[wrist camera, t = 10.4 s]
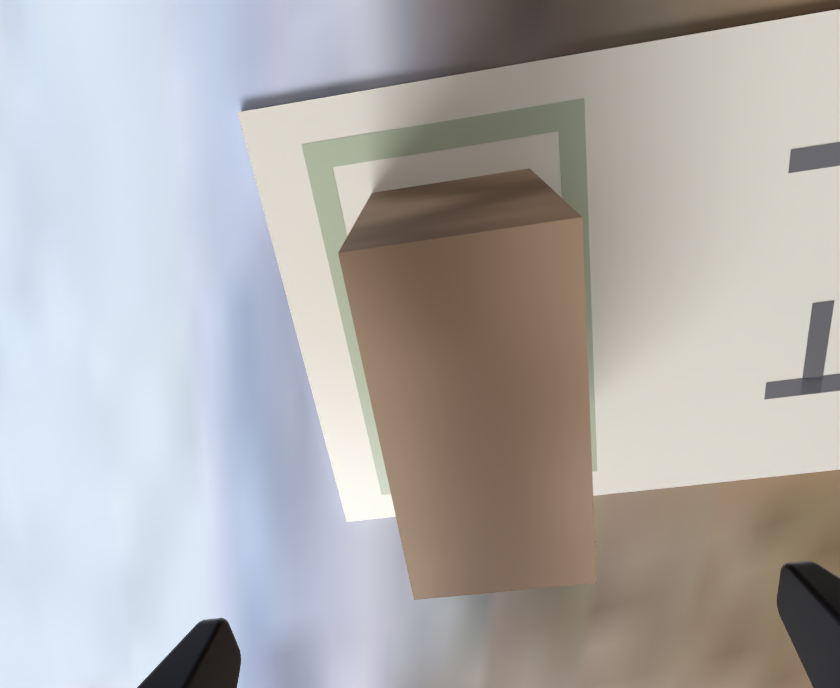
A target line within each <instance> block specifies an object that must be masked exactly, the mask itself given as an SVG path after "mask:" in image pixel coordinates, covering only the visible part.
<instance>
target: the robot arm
mask: <svg viewBox="0 0 840 688" xmlns="http://www.w3.org/2000/svg"><path fill="white" fill-rule="evenodd" d="M777 607H778V611H779V614H780V617H781V619H782V621H783V623H784V626H785V628H786V630H787V632H788V634H789V636H790V638H791V641H792V643H793V645H794V647H795V649H796V651H797V653H798V656H799V658H800V660H801V662H802V664H803V666H804V668H805V671H806V673H807V675H808V677H809V679H810V681H811V684H812V686H813V688H840V578H839V577H837V576H836V575H834V574H833V573H831V572H829V571H828V570H826V569H825V568H823V567H822V566H820V565H818V564H817V563H814V562H811V561H801V562H791V563H786V564H784V565H783V566H782V568H781V573H780V580H779V587H778V594H777ZM240 665H241V654H240V650H239V647H238V645H237V642H236V640H235V637H234V635H233V633H232V630H231V628H230V625H229V623H228V621H227V620H225V619H224V618H218V619H207V620H203V621H201V622H199V623H198V624H197V625H196V626H195V627H194V628H193V629H192V630H191V631H190V632H189V633H188V634H187V635H186V636H185V637H184V638H183V639H182V641H181V642H180V643H179V644H178V645H177V646H176V647H175V648H174V649H173V650H172V651H171V652H170V653H169V654H168V655H167V656H166V658H165V659H164V660H163V661H162V662H161V663H160V664H159V665H158V666H157V667H156V668H155V669H154V670H153V671H152V672H151V674H150V675H149V676H148V677H147V678H146V679H145V680H144V681H143V682H142V683H141V684H140V685H139V686H138V687H137V688H237V683H238V677H239V671H240Z"/></svg>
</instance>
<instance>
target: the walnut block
mask: <svg viewBox="0 0 840 688" xmlns="http://www.w3.org/2000/svg"><path fill="white" fill-rule="evenodd" d="M338 255H339V260H340V264H341V269H342V273H343V278H344V283H345V287H346V292H347V296H348V301H349V305H350V310H351V314H352V319H353V324H354V328H355V333H356V337H357V342H358V346H359V351H360V355H361V360H362V365H363V369H364V374H365V378H366V383H367V387H368V392H369V396H370V401H371V405H372V410H373V415H374V419H375V424H376V428H377V433H378V437H379V442H380V446H381V451H382V456H383V460H384V465H385V469H386V474H387V478H388V483H389V487H390V492H391V497H392V501H393V506H394V510H395V515H396V519H397V524H398V528H399V533H400V537H401V542H402V547H403V551H404V556H405V560H406V565H407V569H408V574H409V578H410V583H411V588H412V592H413V597H414V600H418V599H428V598H439V597H450V596H461V595H471V594H482V593H493V592H503V591H514V590H525V589H536V588H546V587H557V586H568V585H579V584H589V583H596V556H595V530H594V504H593V478H592V452H591V426H590V399H589V373H588V347H587V321H586V295H585V268H584V242H583V217H582V216H581V215H580V214H579V213H578V212H576V211H575V210H574V209H573V208H572V207H571V206H570V205H569V204H568V203H567V202H566V201H565V200H563V199H562V198H561V197H560V196H559V195H558V194H557V193H556V192H555V191H554V190H553V189H552V188H551V187H549V186H548V185H547V184H546V183H545V182H544V181H543V180H542V179H541V178H540V177H539V176H538V175H536V174H535V173H534V172H533V171H532V170H531V169H530V168H529V169H523V170H516V171H510V172H503V173H497V174H490V175H484V176H478V177H471V178H465V179H458V180H452V181H445V182H439V183H433V184H426V185H420V186H413V187H407V188H400V189H394V190H387V191H381V192H375V193H371V195H370V197H369V199H368V201H367V202H366V204H365V206H364V208H363V209H362V211H361V213H360V215H359V217H358V218H357V220H356V222H355V224H354V225H353V227H352V229H351V231H350V233H349V234H348V236H347V238H346V240H345V241H344V243H343V245H342V247H341V249H340V250H339V252H338Z"/></svg>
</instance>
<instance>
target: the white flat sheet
mask: <svg viewBox="0 0 840 688" xmlns="http://www.w3.org/2000/svg"><path fill="white" fill-rule="evenodd" d="M238 116H239V120H240V124H241V127H242V131H243V135H244V139H245V142H246V146H247V150H248V154H249V157H250V161H251V165H252V169H253V172H254V176H255V180H256V184H257V187H258V191H259V195H260V199H261V202H262V206H263V210H264V214H265V217H266V221H267V225H268V229H269V232H270V236H271V240H272V244H273V247H274V251H275V255H276V259H277V262H278V266H279V270H280V274H281V277H282V281H283V285H284V289H285V292H286V296H287V300H288V304H289V307H290V311H291V315H292V319H293V322H294V326H295V330H296V334H297V337H298V341H299V345H300V349H301V352H302V356H303V360H304V364H305V367H306V371H307V375H308V379H309V382H310V386H311V390H312V394H313V397H314V401H315V405H316V409H317V412H318V416H319V420H320V424H321V427H322V431H323V435H324V439H325V442H326V446H327V450H328V454H329V457H330V461H331V465H332V469H333V472H334V476H335V480H336V484H337V487H338V491H339V495H340V499H341V502H342V506H343V510H344V514H345V517H346V521H347V522H350V521H360V520H369V519H379V518H388V517H396V515H395V510H394V506H393V501H392V497H391V492H390V487H389V483H388V478H387V474H386V469H385V465H384V460H383V456H382V451H381V446H380V442H379V437H378V433H377V428H376V424H375V419H374V415H373V410H372V405H371V401H370V396H369V392H368V387H367V383H366V378H365V374H364V369H363V365H362V360H361V355H360V351H359V346H358V342H357V337H356V333H355V328H354V324H353V319H352V314H351V310H350V305H349V301H348V296H347V292H346V287H345V283H344V278H343V273H342V269H341V264H340V260H339V255H338V252H339V250H340V249H341V247H342V245H343V243H344V241H345V240H346V238H347V236H348V234H349V233H350V231H351V229H352V227H353V225H354V224H355V222H356V220H357V218H358V217H359V215H360V213H361V211H362V209H363V208H364V206H365V204H366V202H367V201H368V199H369V197H370V195H371V193H375V192H381V191H387V190H394V189H400V188H407V187H413V186H420V185H426V184H433V183H439V182H445V181H452V180H458V179H465V178H471V177H478V176H484V175H490V174H497V173H503V172H510V171H516V170H523V169H529V168H530V169H531V170H532V171H533V172H534V173H535V174H536V175H538V176H539V177H540V178H541V179H542V180H543V181H544V182H545V183H546V184H547V185H548V186H549V187H551V188H552V189H553V190H554V191H555V192H556V193H557V194H558V195H559V196H560V197H561V198H562V199H563V200H565V201H566V202H567V203H568V204H569V205H570V206H571V207H572V208H573V209H574V210H575V211H576V212H578V213H579V214H580V215H581V216H582V217H583V242H584V268H585V295H586V321H587V347H588V373H589V399H590V426H591V452H592V478H593V496H595V495H604V494H614V493H623V492H632V491H642V490H651V489H661V488H670V487H679V486H689V485H698V484H708V483H717V482H726V481H736V480H745V479H755V478H764V477H773V476H783V475H792V474H802V473H811V472H820V471H830V470H839V469H840V9H837V10H831V11H825V12H819V13H813V14H807V15H802V16H796V17H790V18H784V19H778V20H773V21H767V22H761V23H755V24H749V25H743V26H738V27H732V28H726V29H720V30H714V31H708V32H703V33H697V34H691V35H685V36H679V37H673V38H668V39H662V40H656V41H650V42H644V43H638V44H633V45H627V46H621V47H615V48H609V49H603V50H598V51H592V52H586V53H580V54H574V55H569V56H563V57H557V58H551V59H545V60H539V61H534V62H528V63H522V64H516V65H510V66H504V67H499V68H493V69H487V70H481V71H475V72H469V73H464V74H458V75H452V76H446V77H440V78H434V79H429V80H423V81H417V82H411V83H405V84H399V85H394V86H388V87H382V88H376V89H370V90H365V91H359V92H353V93H347V94H341V95H335V96H330V97H324V98H318V99H312V100H306V101H300V102H295V103H289V104H283V105H277V106H271V107H265V108H260V109H254V110H248V111H242V112H238Z"/></svg>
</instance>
